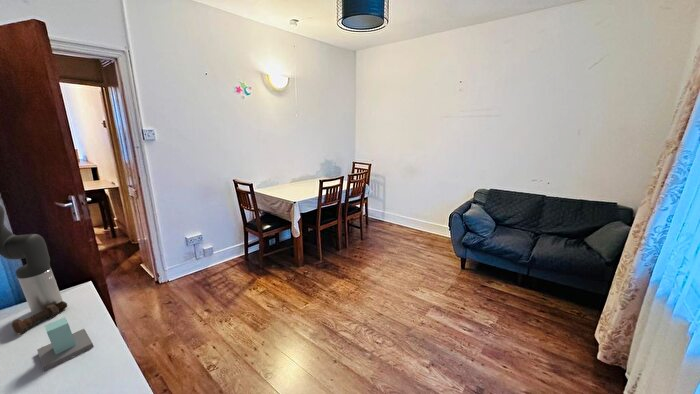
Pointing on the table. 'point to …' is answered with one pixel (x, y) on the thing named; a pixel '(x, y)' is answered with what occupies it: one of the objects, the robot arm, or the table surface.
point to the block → (60, 335)
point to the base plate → (52, 359)
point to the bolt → (37, 317)
